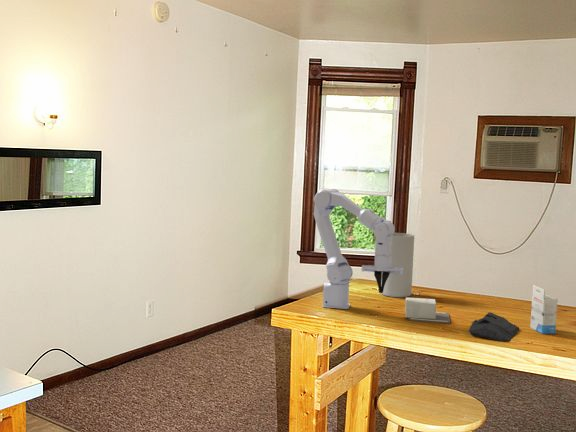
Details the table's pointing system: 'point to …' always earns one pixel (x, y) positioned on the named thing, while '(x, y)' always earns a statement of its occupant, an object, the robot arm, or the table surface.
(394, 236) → the cylinder vase
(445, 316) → the mat
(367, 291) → the table surface
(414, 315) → the small box
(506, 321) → the crumpled dark cloth
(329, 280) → the robot arm
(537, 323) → the ink box
